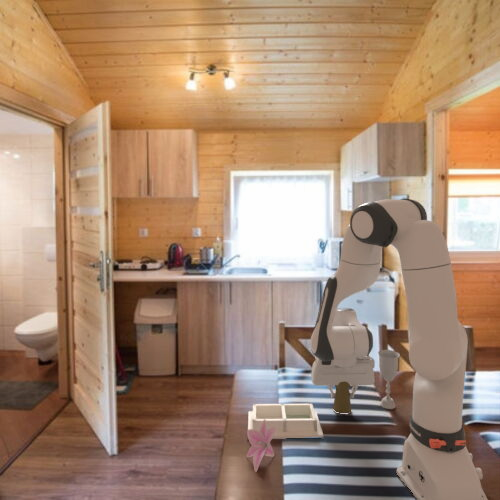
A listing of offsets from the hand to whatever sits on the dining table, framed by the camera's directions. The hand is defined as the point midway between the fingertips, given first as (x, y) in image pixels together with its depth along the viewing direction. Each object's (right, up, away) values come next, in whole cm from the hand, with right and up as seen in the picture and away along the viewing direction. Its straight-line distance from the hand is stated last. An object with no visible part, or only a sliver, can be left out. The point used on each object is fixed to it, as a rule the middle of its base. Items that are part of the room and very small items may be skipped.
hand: (342, 396), depth 131 cm
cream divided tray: (-20, -6, -8) cm, 22 cm away
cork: (0, -5, +1) cm, 5 cm away
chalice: (+16, -4, +3) cm, 17 cm away
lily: (-27, -8, -24) cm, 37 cm away
